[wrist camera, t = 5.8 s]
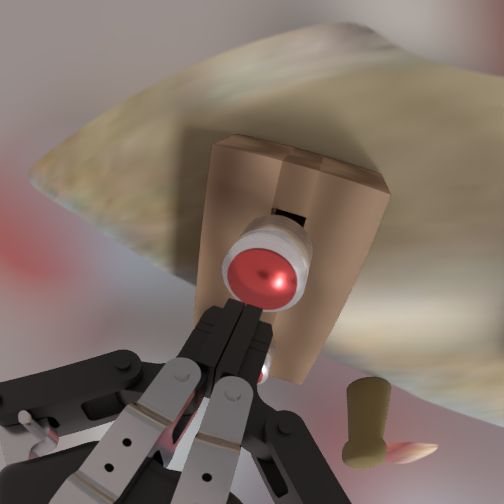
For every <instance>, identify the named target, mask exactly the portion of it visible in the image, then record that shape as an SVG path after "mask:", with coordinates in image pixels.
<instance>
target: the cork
mask: <svg viewBox="0 0 504 504" xmlns="http://www.w3.org/2000/svg"><path fill="white" fill-rule="evenodd" d="M390 394H391V385H390V383H389V382H388V381H386V380H384V379H382V378H377V377H366V378H361V379H358V380H356V381H354V382H352V383H351V384H350V385H349V386H348V388H347V407H348V435H349V436H348V437H349V441H348V442H347V443H346V444H345V445H344V447H343V450H342V460H343V462H344V463H345V464H346V465H347V466H349V467H351V468H357V469H366V468H372V467H375V466H377V465H379V464H381V463H382V462H383V460H384V459H385V456H386V453H387V446H386V443H385V441H384V440H383V435H384V430H385V424H386V419H387V414H388V407H389V401H390Z"/></svg>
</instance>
